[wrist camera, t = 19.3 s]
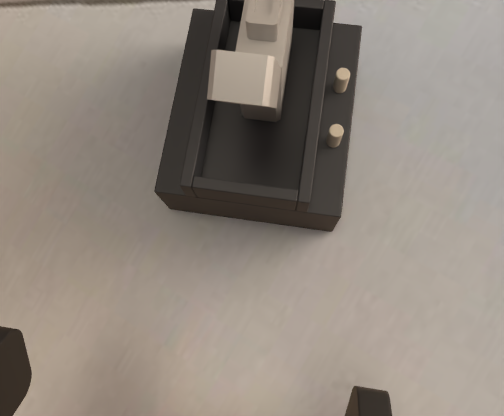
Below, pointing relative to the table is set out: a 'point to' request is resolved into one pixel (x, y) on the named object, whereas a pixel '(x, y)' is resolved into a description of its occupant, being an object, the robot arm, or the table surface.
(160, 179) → the dark grey holder tray
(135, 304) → the table surface
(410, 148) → the table surface
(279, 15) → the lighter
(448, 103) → the table surface
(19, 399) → the robot arm
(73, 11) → the table surface
